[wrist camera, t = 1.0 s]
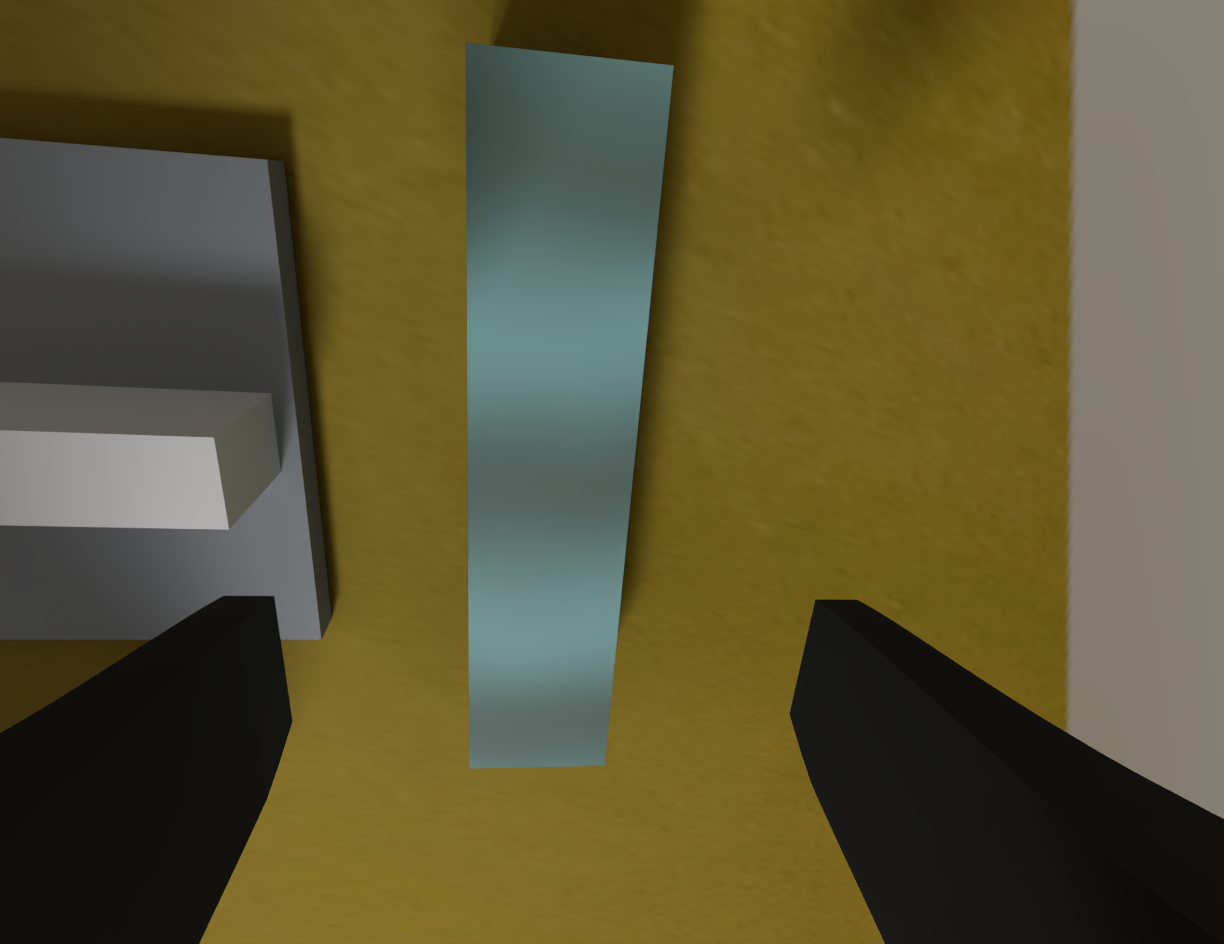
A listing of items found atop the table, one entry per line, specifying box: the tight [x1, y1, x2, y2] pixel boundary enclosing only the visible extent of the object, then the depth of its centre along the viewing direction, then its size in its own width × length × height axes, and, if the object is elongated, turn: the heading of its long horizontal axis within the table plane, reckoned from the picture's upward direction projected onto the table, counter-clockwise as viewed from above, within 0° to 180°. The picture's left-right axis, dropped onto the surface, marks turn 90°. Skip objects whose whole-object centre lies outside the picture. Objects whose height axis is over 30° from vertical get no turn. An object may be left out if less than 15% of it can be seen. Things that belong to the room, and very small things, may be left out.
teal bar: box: [466, 43, 674, 768], centre depth 16 cm, size 16×4×4 cm, turn 176°
